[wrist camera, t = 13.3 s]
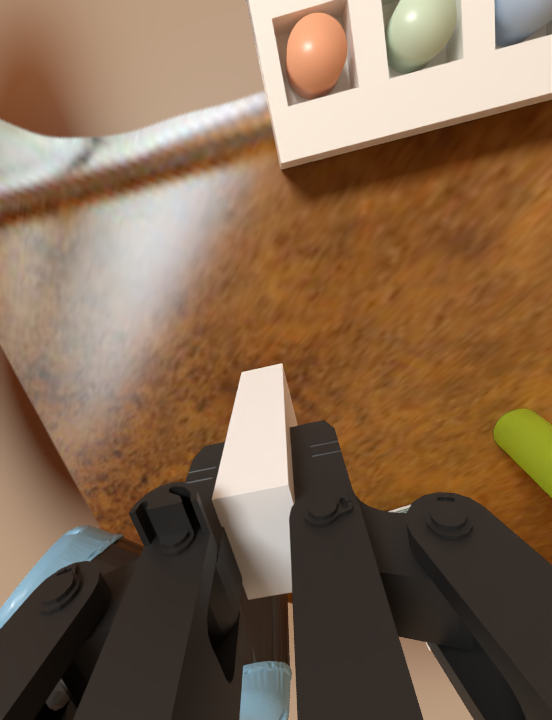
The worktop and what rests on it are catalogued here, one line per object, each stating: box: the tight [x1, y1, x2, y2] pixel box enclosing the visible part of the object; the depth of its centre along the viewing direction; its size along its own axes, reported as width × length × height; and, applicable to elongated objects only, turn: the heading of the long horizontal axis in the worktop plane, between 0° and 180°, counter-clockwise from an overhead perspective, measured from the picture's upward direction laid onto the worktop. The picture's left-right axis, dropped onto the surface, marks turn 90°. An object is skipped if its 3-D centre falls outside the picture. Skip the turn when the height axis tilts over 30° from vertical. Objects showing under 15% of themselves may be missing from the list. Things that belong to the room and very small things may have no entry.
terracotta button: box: [286, 12, 348, 100], centre depth 30 cm, size 5×5×3 cm
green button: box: [385, 0, 457, 74], centre depth 30 cm, size 5×5×3 cm
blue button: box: [494, 0, 552, 47], centre depth 29 cm, size 5×5×3 cm
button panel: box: [246, 0, 552, 170], centre depth 30 cm, size 26×14×4 cm, turn 103°
